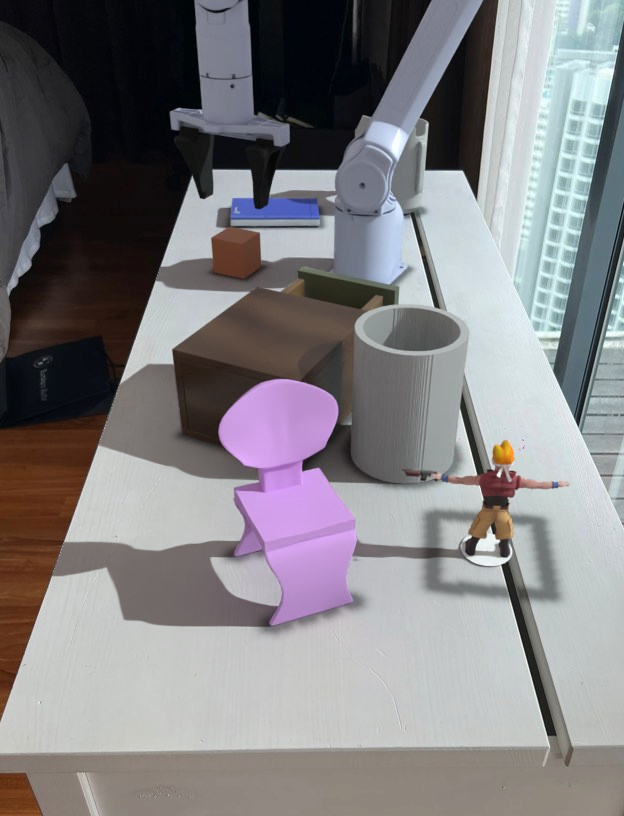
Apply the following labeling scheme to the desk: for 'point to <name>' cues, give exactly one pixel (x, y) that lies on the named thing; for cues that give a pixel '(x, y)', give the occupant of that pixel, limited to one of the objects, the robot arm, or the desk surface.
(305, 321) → the cabinet
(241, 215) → the blue book
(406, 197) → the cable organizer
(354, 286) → the drawer
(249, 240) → the block
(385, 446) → the cup
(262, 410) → the toy chair
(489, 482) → the action figure
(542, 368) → the desk surface
